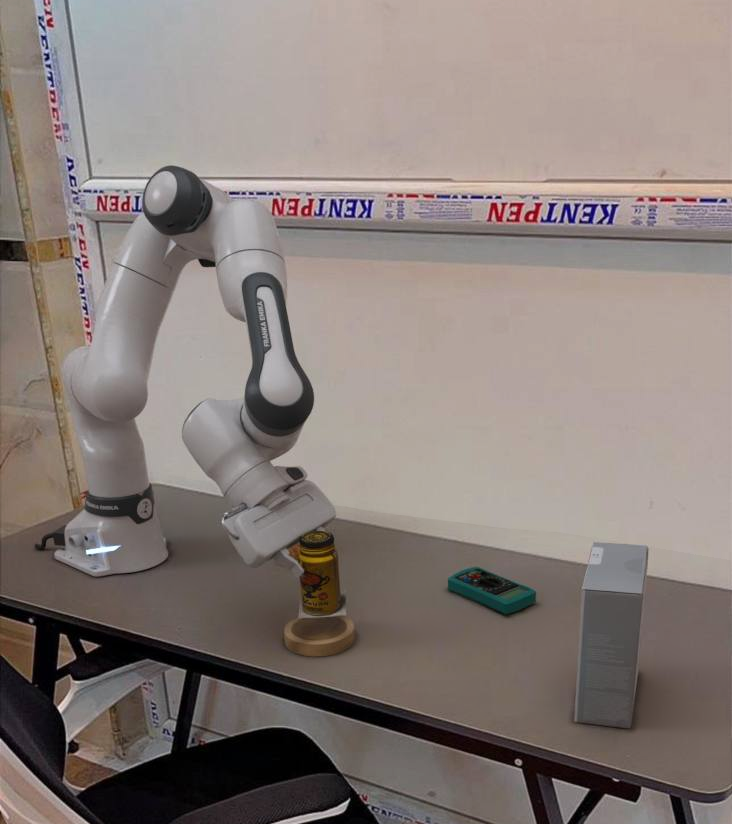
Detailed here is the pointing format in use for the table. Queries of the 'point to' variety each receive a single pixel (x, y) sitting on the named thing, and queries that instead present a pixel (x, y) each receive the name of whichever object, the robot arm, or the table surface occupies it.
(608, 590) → the hard drive box
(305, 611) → the condiment
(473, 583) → the digital multimeter
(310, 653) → the coaster
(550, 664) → the table surface
